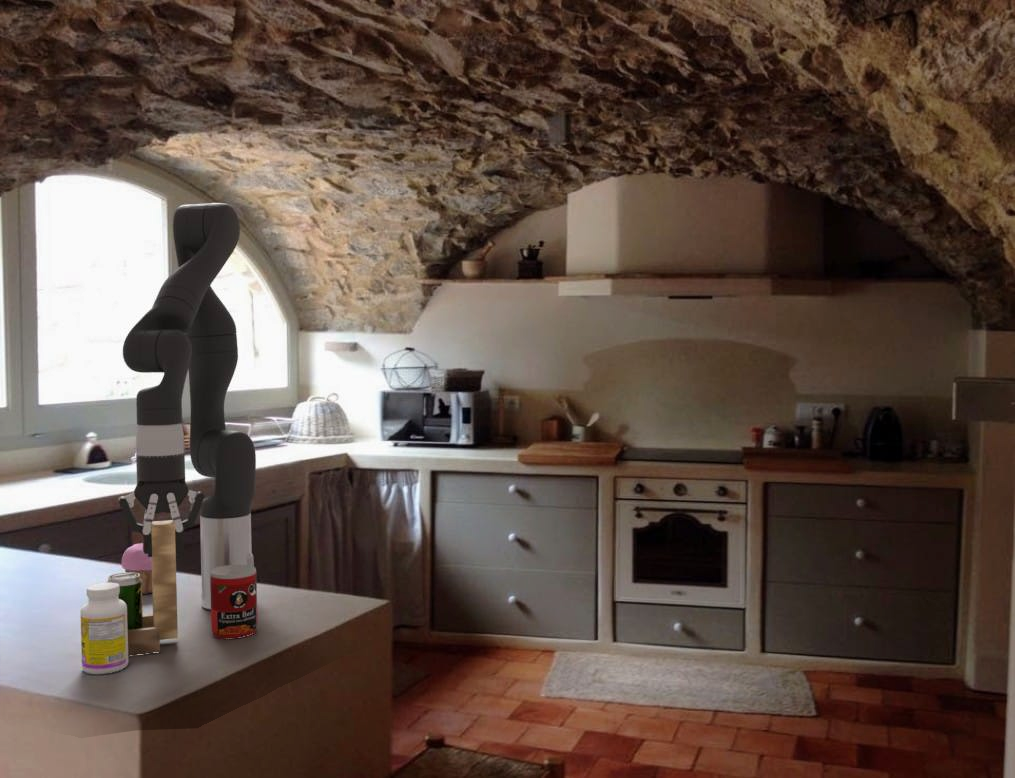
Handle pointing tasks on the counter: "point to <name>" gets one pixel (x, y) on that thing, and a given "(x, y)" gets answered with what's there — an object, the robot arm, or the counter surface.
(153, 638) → the channel
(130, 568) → the cupcake
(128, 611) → the beer can
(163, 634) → the bar
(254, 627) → the canned food
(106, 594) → the supplement bottle
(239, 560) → the robot arm
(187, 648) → the counter surface
